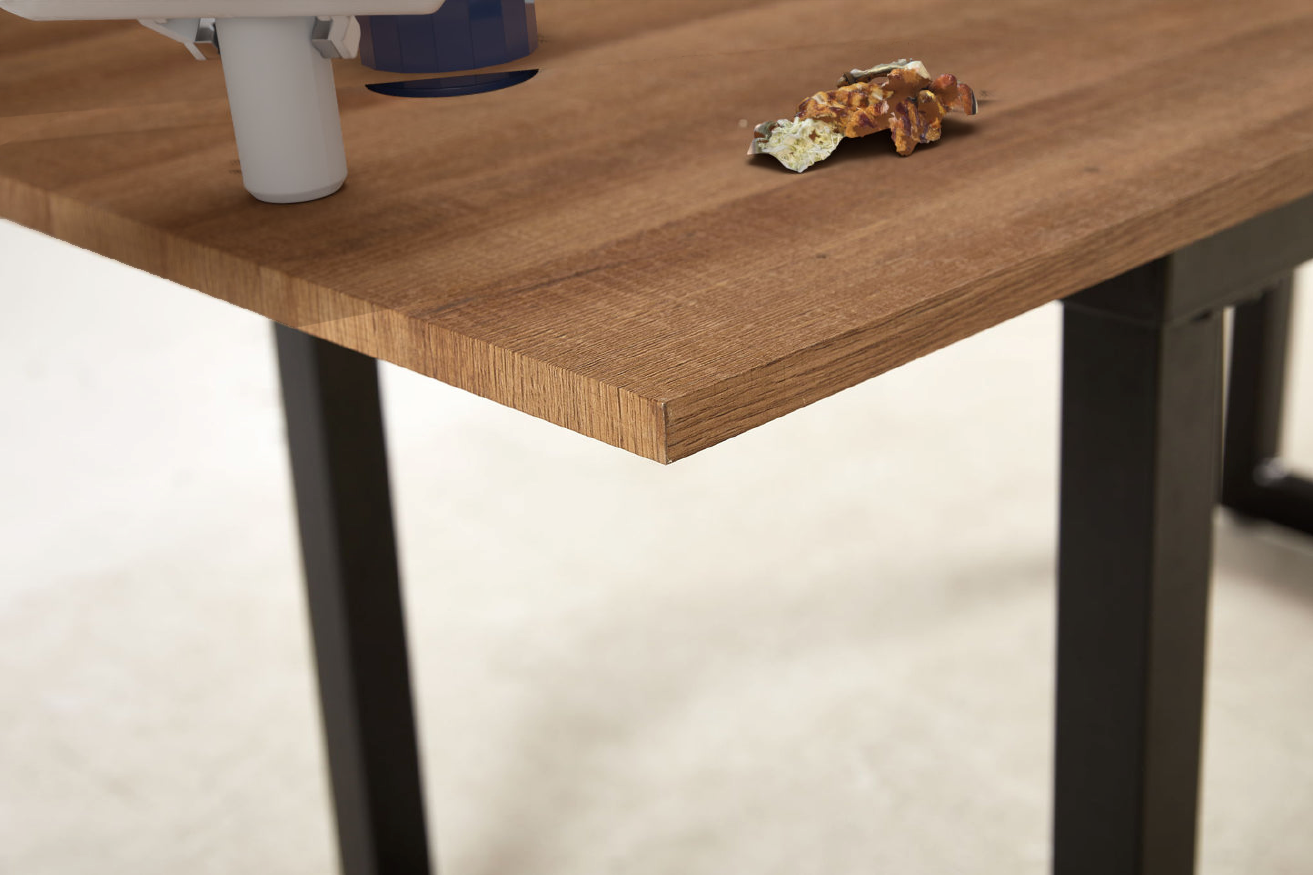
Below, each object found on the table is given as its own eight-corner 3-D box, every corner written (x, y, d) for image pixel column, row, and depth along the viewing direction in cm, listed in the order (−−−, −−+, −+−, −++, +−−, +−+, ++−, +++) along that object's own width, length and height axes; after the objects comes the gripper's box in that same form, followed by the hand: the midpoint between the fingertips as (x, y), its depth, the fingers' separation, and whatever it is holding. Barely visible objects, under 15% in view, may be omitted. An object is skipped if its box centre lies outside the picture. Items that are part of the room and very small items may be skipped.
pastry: (721, 157, 74) (718, 82, 73) (883, 104, 81) (884, 34, 80) (833, 183, 69) (832, 104, 68) (995, 124, 77) (998, 51, 75)
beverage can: (237, 185, 74) (190, -76, 69) (336, 169, 76) (298, -87, 71) (255, 212, 70) (207, -63, 65) (360, 194, 72) (321, -76, 67)
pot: (512, 97, 87) (496, -60, 83) (337, 98, 89) (315, -55, 85) (558, 55, 96) (546, -89, 93) (399, 57, 98) (381, -84, 95)
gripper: (407, -242, 57) (507, -18, 70) (-88, -217, 61) (93, -9, 74) (381, -97, 55) (489, 106, 68) (-129, -80, 59) (64, 108, 72)
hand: (279, 46), depth 71 cm, fingers closed on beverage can, 5 cm apart
